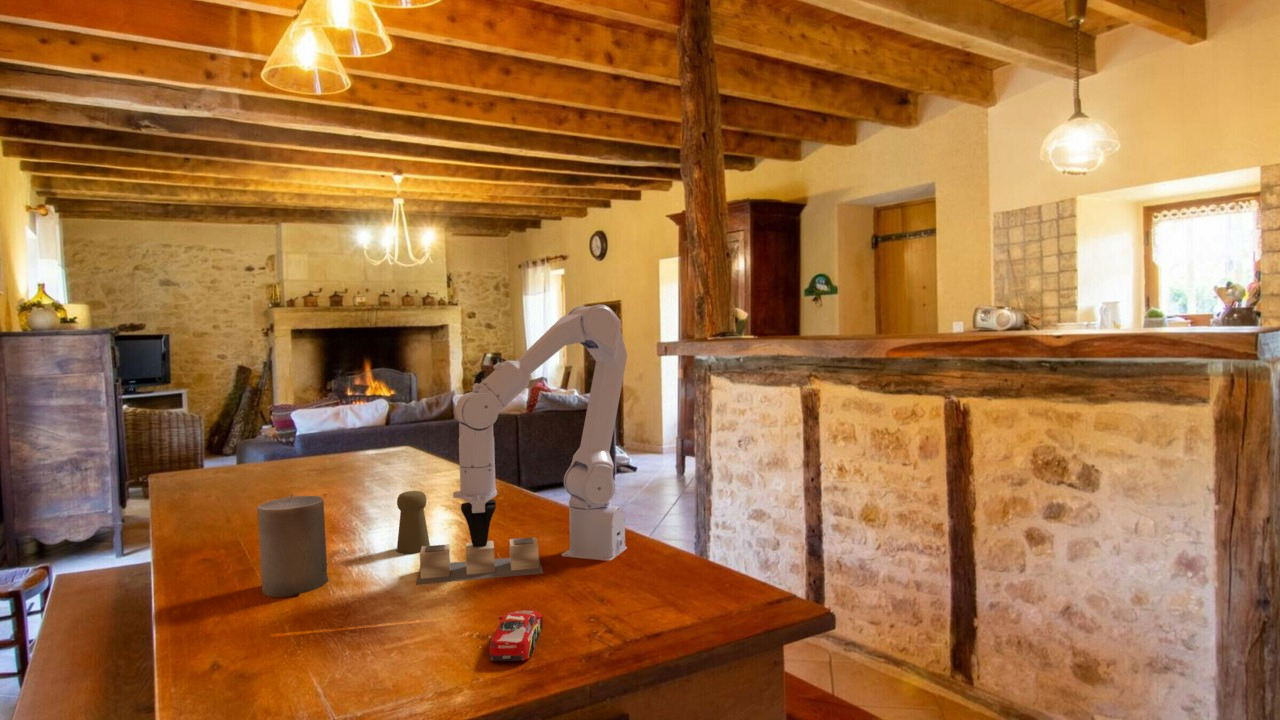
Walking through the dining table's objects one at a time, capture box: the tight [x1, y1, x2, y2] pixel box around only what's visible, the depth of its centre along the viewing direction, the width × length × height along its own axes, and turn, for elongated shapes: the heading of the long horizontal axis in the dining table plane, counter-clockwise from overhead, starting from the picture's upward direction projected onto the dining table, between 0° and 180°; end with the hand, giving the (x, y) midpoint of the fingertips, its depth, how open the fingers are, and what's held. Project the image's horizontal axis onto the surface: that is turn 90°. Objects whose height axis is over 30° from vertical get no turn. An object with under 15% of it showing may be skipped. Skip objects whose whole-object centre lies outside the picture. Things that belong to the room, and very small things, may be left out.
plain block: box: [465, 540, 495, 574], centre depth 126 cm, size 4×4×4 cm
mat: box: [415, 554, 544, 586], centre depth 126 cm, size 20×10×1 cm, turn 102°
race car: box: [489, 609, 543, 663], centre depth 97 cm, size 13×5×4 cm, turn 177°
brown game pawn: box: [396, 490, 431, 555], centre depth 139 cm, size 6×6×11 cm
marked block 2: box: [509, 536, 539, 570], centre depth 128 cm, size 4×4×4 cm
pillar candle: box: [257, 493, 329, 598], centre depth 120 cm, size 10×10×15 cm
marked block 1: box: [419, 544, 451, 579], centre depth 125 cm, size 4×4×4 cm
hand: (479, 546), depth 126 cm, fingers closed, pressing on plain block
